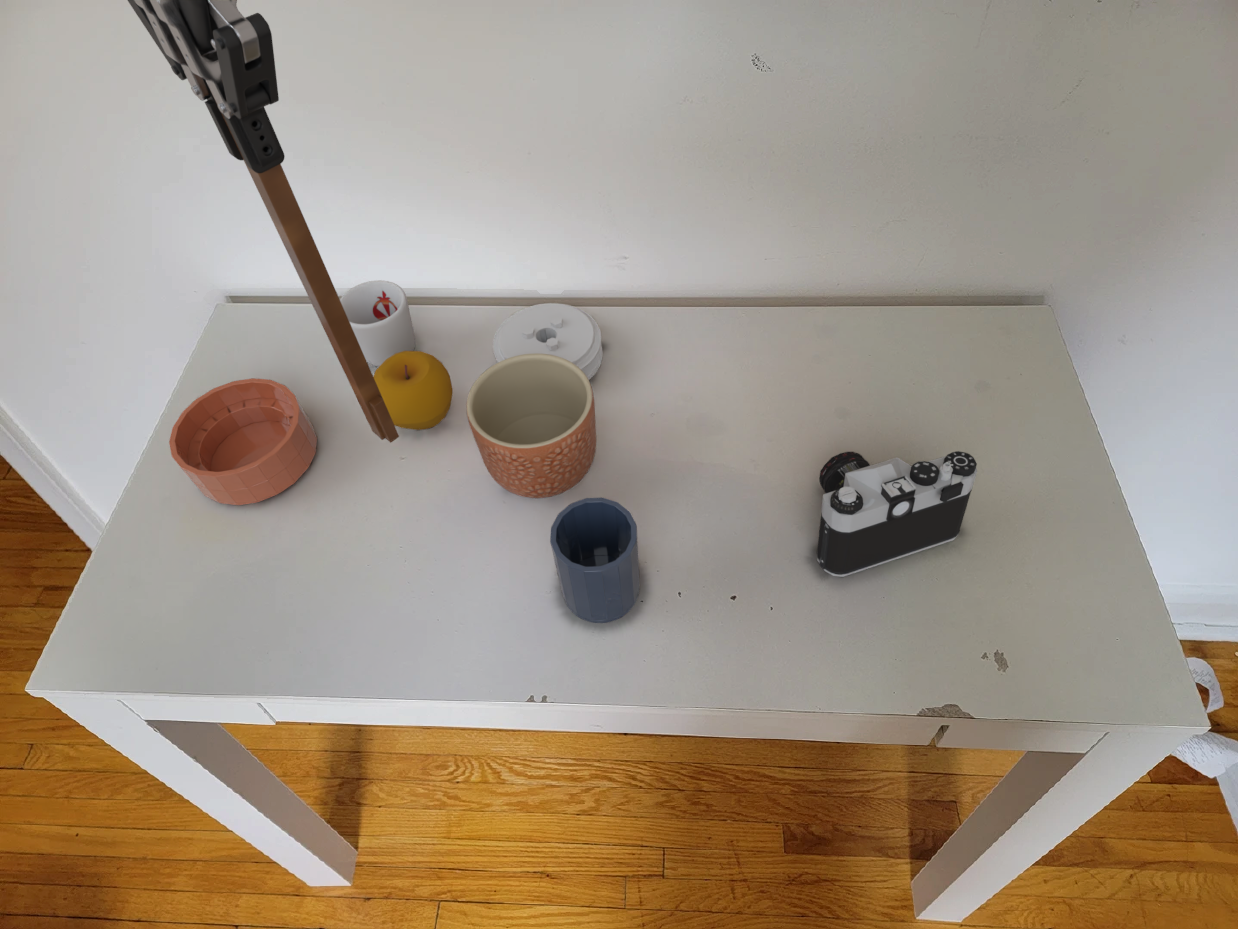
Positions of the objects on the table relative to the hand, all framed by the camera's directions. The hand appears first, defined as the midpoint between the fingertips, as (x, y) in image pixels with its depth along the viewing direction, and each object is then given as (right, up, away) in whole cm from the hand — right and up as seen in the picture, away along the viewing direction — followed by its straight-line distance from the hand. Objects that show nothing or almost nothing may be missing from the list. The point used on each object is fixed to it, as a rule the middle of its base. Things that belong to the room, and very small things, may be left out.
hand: (259, 158), depth 48 cm
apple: (0, -14, +39) cm, 42 cm away
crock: (+21, -31, +26) cm, 45 cm away
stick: (+1, -16, +22) cm, 27 cm away
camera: (+48, -25, +29) cm, 61 cm away
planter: (+14, -19, +35) cm, 42 cm away
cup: (-7, -5, +46) cm, 47 cm away
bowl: (-17, -19, +37) cm, 45 cm away
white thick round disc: (+14, -7, +44) cm, 47 cm away
